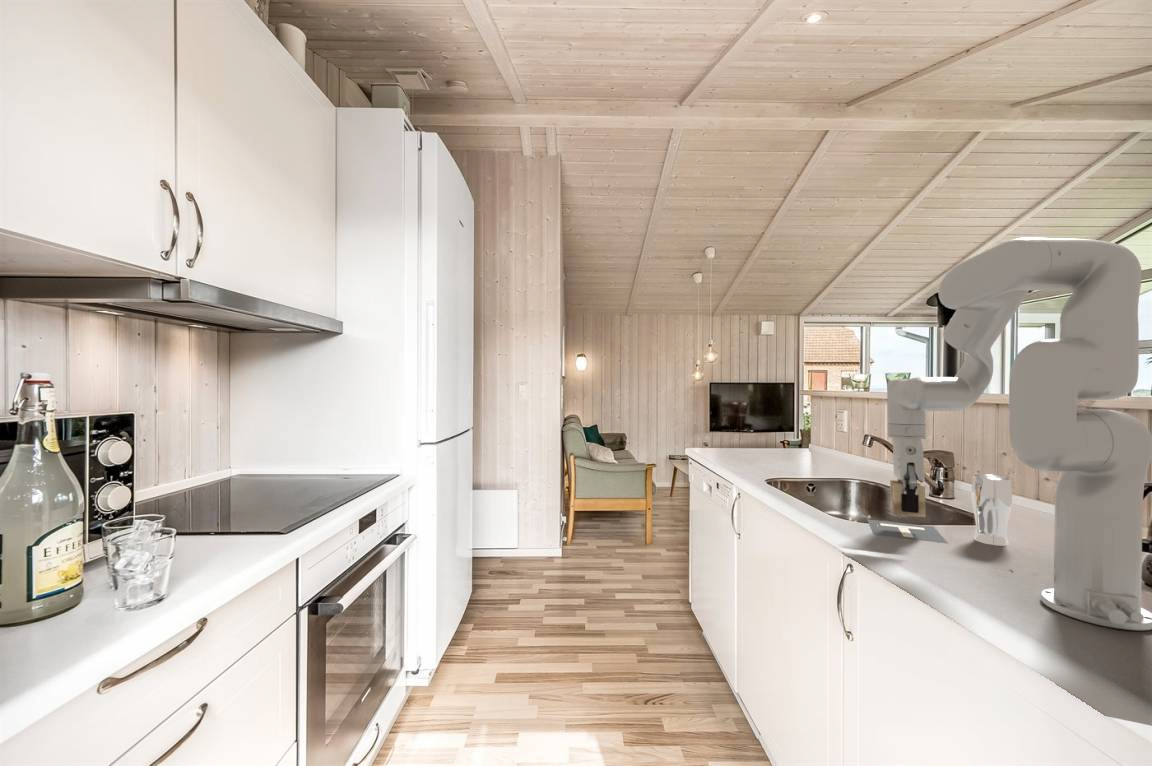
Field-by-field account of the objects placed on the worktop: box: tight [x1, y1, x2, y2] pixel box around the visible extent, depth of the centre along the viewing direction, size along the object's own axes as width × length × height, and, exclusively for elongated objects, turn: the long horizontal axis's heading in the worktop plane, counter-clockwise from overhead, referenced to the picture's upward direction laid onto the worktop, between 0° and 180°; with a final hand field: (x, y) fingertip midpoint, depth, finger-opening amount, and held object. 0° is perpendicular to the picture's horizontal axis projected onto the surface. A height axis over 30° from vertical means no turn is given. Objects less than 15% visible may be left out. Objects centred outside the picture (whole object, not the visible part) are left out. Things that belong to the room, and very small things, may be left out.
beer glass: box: [970, 473, 1013, 547], centre depth 112 cm, size 7×7×15 cm
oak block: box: [889, 479, 927, 518], centre depth 118 cm, size 6×6×7 cm
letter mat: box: [867, 519, 949, 544], centre depth 119 cm, size 14×14×1 cm
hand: (907, 508), depth 118 cm, fingers closed on oak block, 6 cm apart
